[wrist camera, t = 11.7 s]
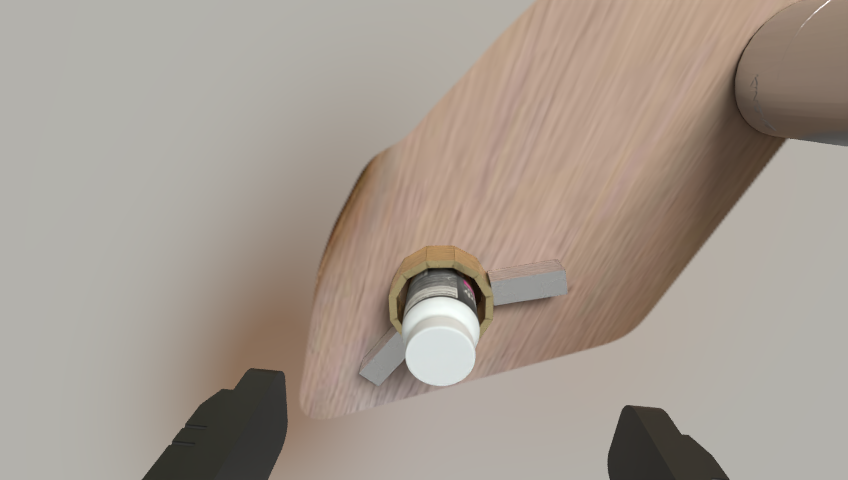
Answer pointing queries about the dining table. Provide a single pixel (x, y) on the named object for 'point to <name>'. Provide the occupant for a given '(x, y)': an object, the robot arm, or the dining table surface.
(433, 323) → the pill bottle
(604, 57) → the dining table surface
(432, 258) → the stand
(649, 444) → the robot arm
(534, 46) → the dining table surface
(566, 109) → the dining table surface
